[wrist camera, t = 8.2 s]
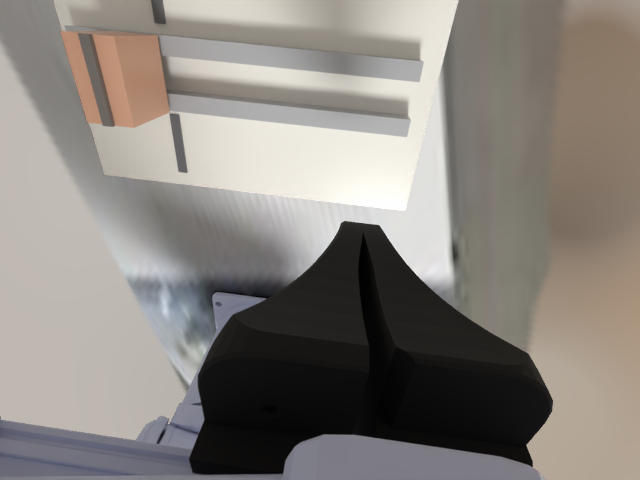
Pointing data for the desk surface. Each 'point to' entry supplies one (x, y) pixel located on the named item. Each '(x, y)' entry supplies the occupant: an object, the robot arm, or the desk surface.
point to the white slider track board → (280, 94)
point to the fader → (117, 76)
